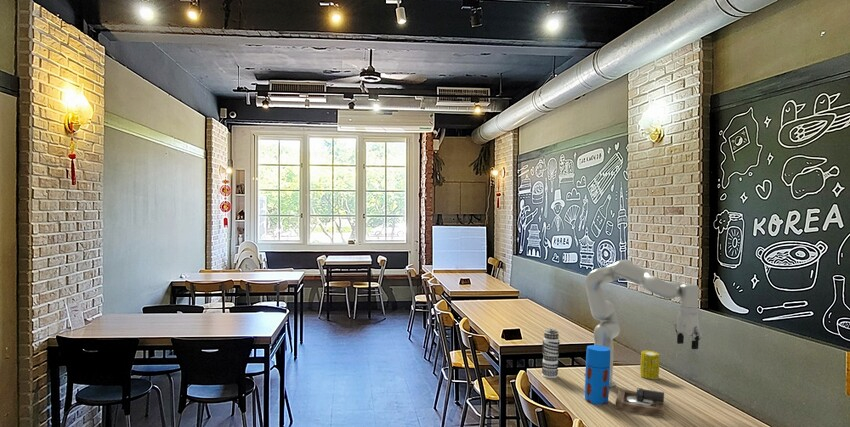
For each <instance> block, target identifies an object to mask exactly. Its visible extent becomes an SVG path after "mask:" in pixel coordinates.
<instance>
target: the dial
mask: <svg viewBox="0 0 850 427" xmlns="http://www.w3.org/2000/svg"><path fill="white" fill-rule="evenodd" d="M636 392H637V396H628V397H627V402H631V403H636V404H642V405H648V406H653V405H654V402H653V401H659V402H664V401H665V392H664V391H657V390H652V389H644V388H639V387H638V388H636ZM652 400H653V401H652ZM664 403H665V402H664Z"/></svg>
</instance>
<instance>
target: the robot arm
mask: <svg viewBox="0 0 850 427" xmlns="http://www.w3.org/2000/svg"><path fill="white" fill-rule="evenodd" d="M621 279H624V280H627V281H629V282H631V283H633V284H636V285H638V286H640V287H641V288H643V289H645V290H647V291H649V292H651V293H652V294H654V295H657V296H659V297H660V298H661V297H662V298H664V299H668V300H672V299H675V298H680V305H679V312H678V314H677V319H676V321H677V322H676V323H675V324H674V329H675V334H676V335H677V336H676V344H678V345H679V344H681V345H682V344H684V340H685V339H684V338H685V336H690V337H691V339H692V340H691V350H698V349H699V341H701V338H702V336H703V331H702V330H700V319H699V315H698V314H699V313H698V312H699V292H700V287H699V286H698V285H697V284H694V283H683V282H679V281H674V280H673V281H669V282H668V281H664V280H662V279H660V278H658V277H655V276H654V275H653V274H652V273H651V272H650V271H649V270H648V269H646V268H643V267H640V266H638V265H636V264H634V262H633V261H631V260H630V259H620V260H617V261H616V262H614V263H612V264H610V265H607V266H604V267H598V268H595V269H593V270H591V271H590V272H589V273H588V274H587V275H586V277H585V279H584V287H585V288H584V289H585V292H586V296H587V300H588V304H589V309H590V313H591V316H592V318H593V319H594V320H596V321H600V323H599V324H597V325H596V326H595V328H594V330H593V345H599V346H604V347H608V348H609V349H610V377H609V388H613V387H615V386H616V381H615V380H613V375H614V373H613V371H614V350H615V349H614V342H613V339H615V338H617V337H618V336H619V334H620V331H621V327H620V323H619V319H618V315H617V311H616V308H615V306H614V304H613V303H612V302H611V301H610V300H607V299H606V296H605V292H604V290H603V288H602V285H605V284H609V283H611V282H614V281H615V282H616V281H618V280H621ZM584 377H585V374H584Z"/></svg>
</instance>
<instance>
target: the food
mask: <svg viewBox="0 0 850 427" xmlns="http://www.w3.org/2000/svg"><path fill="white" fill-rule="evenodd" d="M640 353H641V354H640V365H639V366H640V367H639V369H640V371H639V372H640V374H639V375H640V377H641V378H643V379H644V378H645V379H651V380H657V379H659V377H660V376H659V374H660V360H661V359H660V358H661V357H660V356H661V355H660V353H659V352H657V351H655V350H654V351H652V350H646V349H644V350H642V351H641V352H640Z"/></svg>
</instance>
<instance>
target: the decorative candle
mask: <svg viewBox="0 0 850 427" xmlns="http://www.w3.org/2000/svg"><path fill="white" fill-rule="evenodd" d="M543 335H544V336H543V340H542V350H541V351H542V352H541V353H542V355H543V358H542V362H541V363H542V365H541V367H542V368H541V376H542V377H543V378H547V379H556V378H558V375H559V373H558V372H559V369H558V368H559V359H558V358H559V356H560V355H559V354H560V353H559V351H560V349H559V348H560V346H559V345H560V344H561V343H560V341H561V340H560V338H559V335H560V332H559V331H558V330H557V329H555V328H546V329H545V330H544V331H543Z"/></svg>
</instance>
